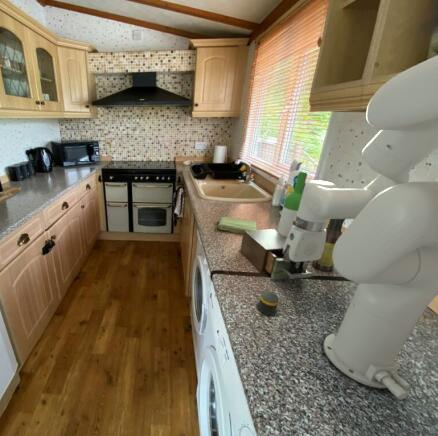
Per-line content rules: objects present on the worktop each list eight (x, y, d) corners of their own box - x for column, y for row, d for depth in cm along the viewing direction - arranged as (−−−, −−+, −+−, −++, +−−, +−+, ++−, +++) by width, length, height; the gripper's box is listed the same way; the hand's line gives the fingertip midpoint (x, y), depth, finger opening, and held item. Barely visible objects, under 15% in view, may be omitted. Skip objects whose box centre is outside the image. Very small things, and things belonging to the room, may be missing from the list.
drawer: (315, 286, 76) (322, 266, 74) (282, 289, 75) (288, 269, 72) (278, 255, 93) (282, 238, 90) (250, 257, 92) (254, 240, 89)
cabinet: (293, 269, 86) (299, 247, 83) (260, 272, 85) (266, 249, 81) (268, 248, 100) (273, 228, 96) (240, 250, 98) (243, 230, 94)
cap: (278, 314, 66) (282, 301, 65) (263, 316, 66) (267, 303, 64) (268, 303, 71) (272, 290, 69) (254, 304, 70) (257, 292, 68)
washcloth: (257, 236, 110) (258, 230, 108) (217, 230, 115) (217, 224, 114) (255, 225, 121) (256, 219, 120) (219, 220, 126) (219, 214, 125)
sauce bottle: (336, 270, 86) (356, 219, 78) (322, 272, 85) (341, 220, 77) (320, 260, 92) (337, 211, 84) (307, 262, 90) (323, 213, 83)
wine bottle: (274, 235, 111) (290, 170, 99) (293, 238, 109) (312, 171, 97) (276, 243, 104) (293, 174, 93) (296, 246, 102) (317, 175, 90)
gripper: (295, 230, 66) (280, 285, 73) (343, 227, 68) (324, 281, 75) (278, 219, 73) (265, 271, 80) (322, 217, 75) (306, 267, 82)
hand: (294, 275), depth 77 cm, fingers closed
